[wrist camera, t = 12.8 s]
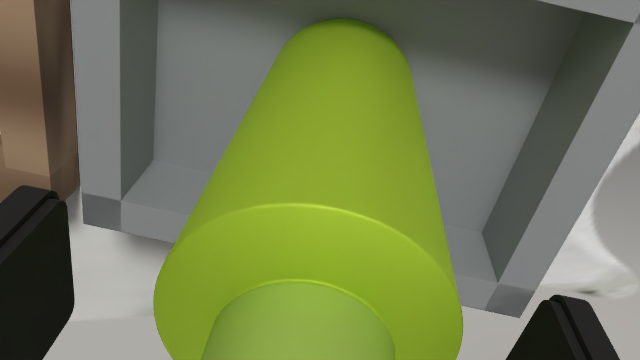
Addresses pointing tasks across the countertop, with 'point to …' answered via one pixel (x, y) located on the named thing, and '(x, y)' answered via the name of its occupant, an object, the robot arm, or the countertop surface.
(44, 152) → the walnut holder
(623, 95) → the slate tray
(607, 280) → the countertop surface
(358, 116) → the soap dispenser
